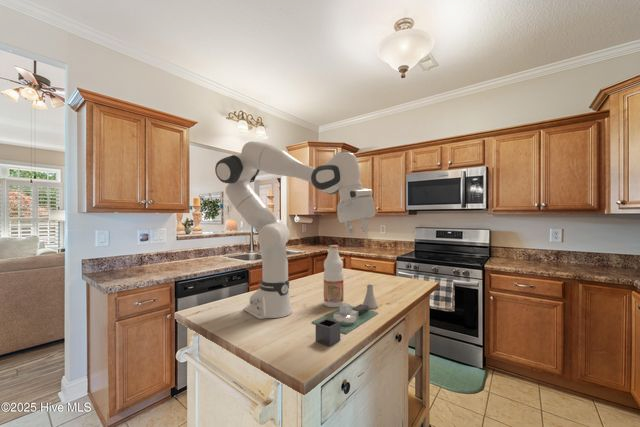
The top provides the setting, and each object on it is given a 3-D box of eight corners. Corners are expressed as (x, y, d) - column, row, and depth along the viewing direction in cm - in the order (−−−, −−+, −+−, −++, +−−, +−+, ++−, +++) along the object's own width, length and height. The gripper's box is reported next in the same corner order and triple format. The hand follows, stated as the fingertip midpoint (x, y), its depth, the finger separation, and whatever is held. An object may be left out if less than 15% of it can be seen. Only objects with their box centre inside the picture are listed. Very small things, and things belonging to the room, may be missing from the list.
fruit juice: (319, 303, 130) (319, 245, 130) (335, 300, 136) (335, 243, 136) (331, 309, 123) (331, 247, 123) (347, 305, 128) (347, 245, 128)
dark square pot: (315, 341, 92) (315, 323, 92) (326, 335, 97) (326, 318, 97) (329, 346, 88) (329, 328, 88) (340, 340, 93) (340, 322, 93)
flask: (378, 309, 122) (378, 287, 122) (361, 308, 123) (361, 286, 123) (378, 304, 129) (377, 283, 129) (362, 303, 130) (362, 282, 130)
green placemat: (311, 323, 107) (311, 305, 107) (346, 306, 127) (346, 290, 127) (345, 334, 97) (345, 314, 97) (377, 313, 117) (377, 297, 117)
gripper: (331, 200, 108) (336, 235, 107) (359, 190, 90) (366, 231, 89) (344, 199, 111) (350, 232, 110) (375, 189, 93) (382, 229, 92)
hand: (358, 232), depth 100 cm, fingers open, 8 cm apart
